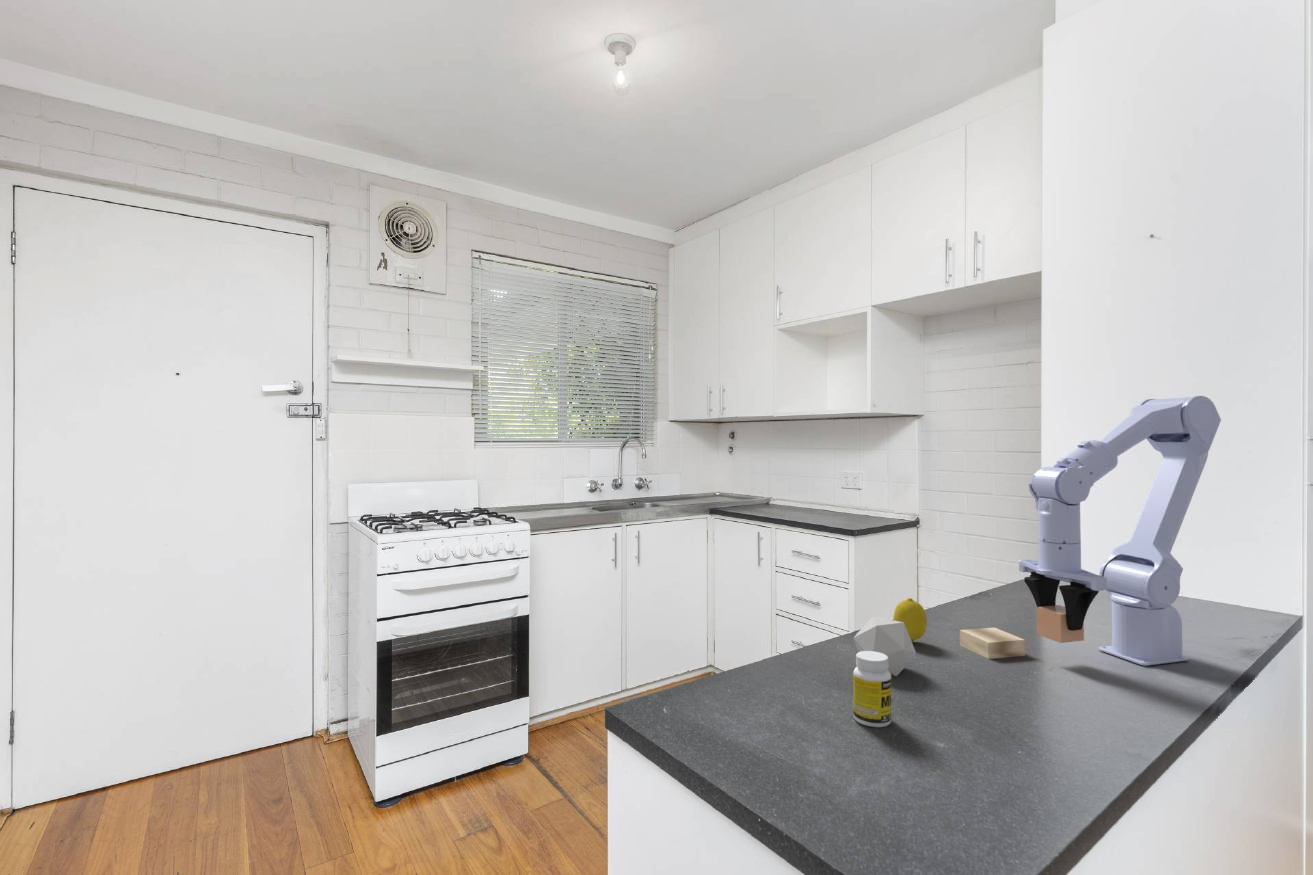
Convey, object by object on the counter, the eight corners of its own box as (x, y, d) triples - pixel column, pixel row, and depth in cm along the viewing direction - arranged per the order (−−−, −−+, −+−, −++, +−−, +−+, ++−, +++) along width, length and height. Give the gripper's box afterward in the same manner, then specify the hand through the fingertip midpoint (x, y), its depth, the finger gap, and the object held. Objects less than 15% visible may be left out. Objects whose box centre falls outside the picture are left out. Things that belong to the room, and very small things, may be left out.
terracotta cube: (1059, 632, 104) (1059, 604, 104) (1083, 640, 99) (1083, 612, 99) (1037, 634, 103) (1036, 607, 103) (1060, 642, 98) (1060, 614, 98)
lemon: (930, 648, 108) (929, 602, 108) (896, 646, 109) (896, 601, 109) (923, 638, 114) (922, 594, 114) (891, 636, 115) (890, 593, 115)
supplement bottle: (887, 731, 78) (886, 664, 78) (849, 722, 81) (848, 657, 81) (895, 716, 82) (894, 653, 82) (858, 708, 85) (858, 647, 85)
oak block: (994, 644, 112) (994, 627, 112) (1024, 657, 105) (1024, 639, 105) (959, 646, 110) (959, 629, 110) (988, 660, 103) (988, 642, 103)
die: (924, 673, 99) (899, 615, 104) (922, 662, 92) (895, 601, 97) (873, 688, 100) (851, 630, 106) (868, 678, 94) (844, 617, 99)
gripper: (1003, 535, 107) (1005, 614, 107) (1079, 550, 93) (1081, 641, 93) (1037, 533, 109) (1038, 611, 109) (1117, 547, 95) (1118, 636, 95)
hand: (1060, 624), depth 101 cm, fingers closed on terracotta cube, 4 cm apart
